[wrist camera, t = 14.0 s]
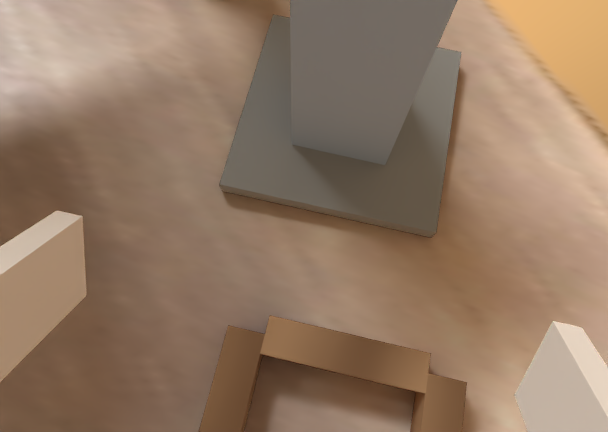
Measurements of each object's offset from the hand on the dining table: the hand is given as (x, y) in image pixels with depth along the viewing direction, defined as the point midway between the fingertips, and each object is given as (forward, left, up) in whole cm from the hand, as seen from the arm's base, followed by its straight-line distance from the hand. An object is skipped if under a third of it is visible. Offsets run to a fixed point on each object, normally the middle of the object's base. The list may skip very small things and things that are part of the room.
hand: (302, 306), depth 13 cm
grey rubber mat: (0, +10, -7) cm, 13 cm away
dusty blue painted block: (0, +10, -6) cm, 12 cm away
